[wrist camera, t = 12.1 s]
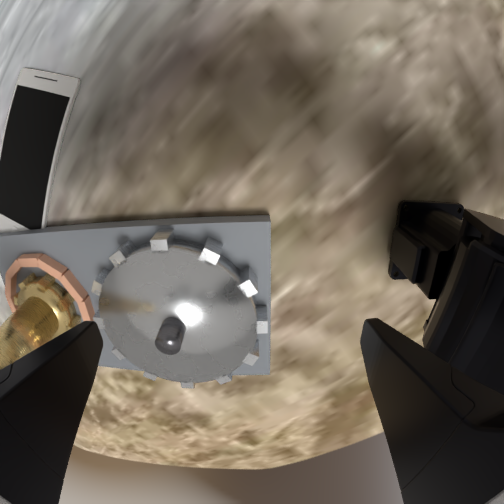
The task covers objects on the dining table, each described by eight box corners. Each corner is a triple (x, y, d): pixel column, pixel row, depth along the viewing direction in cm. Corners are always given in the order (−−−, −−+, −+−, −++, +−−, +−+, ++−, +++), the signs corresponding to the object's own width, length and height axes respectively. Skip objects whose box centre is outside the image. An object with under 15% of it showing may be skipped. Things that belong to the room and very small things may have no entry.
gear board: (269, 215, 21) (271, 226, 19) (269, 363, 27) (270, 382, 24) (-1, 232, 21) (-17, 241, 19) (40, 346, 27) (30, 359, 25)
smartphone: (-3, 225, 22) (-9, 228, 21) (27, 67, 16) (20, 67, 15) (46, 252, 23) (40, 256, 22) (85, 79, 17) (79, 78, 16)
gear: (265, 225, 20) (269, 249, 16) (266, 372, 25) (268, 407, 21) (84, 233, 20) (56, 255, 16) (124, 366, 25) (111, 397, 22)
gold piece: (83, 290, 22) (-3, 403, 10) (79, 345, 24) (20, 449, 13) (23, 260, 21) (-71, 345, 9) (25, 316, 23) (-43, 402, 12)
